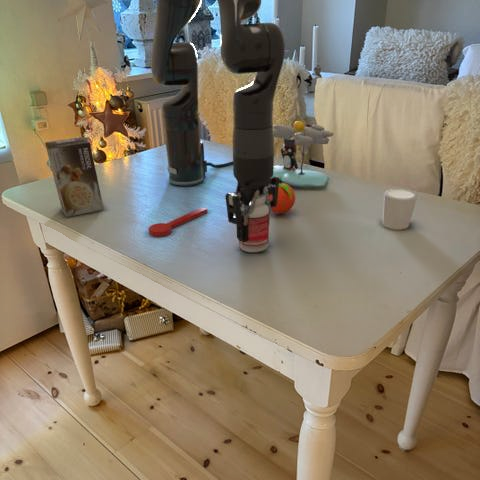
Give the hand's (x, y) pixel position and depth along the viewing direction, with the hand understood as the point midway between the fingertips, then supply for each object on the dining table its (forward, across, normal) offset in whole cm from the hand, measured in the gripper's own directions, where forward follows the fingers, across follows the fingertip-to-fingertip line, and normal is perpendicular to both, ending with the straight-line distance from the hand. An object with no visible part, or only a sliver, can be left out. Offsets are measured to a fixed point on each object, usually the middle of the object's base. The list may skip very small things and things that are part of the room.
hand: (253, 234), depth 99 cm
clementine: (+3, +18, +6) cm, 19 cm away
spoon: (+3, -1, +21) cm, 21 cm away
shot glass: (+3, +28, -18) cm, 33 cm away
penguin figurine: (+3, +38, +16) cm, 41 cm away
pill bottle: (+3, 0, 0) cm, 3 cm away
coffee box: (+3, -9, +46) cm, 47 cm away
